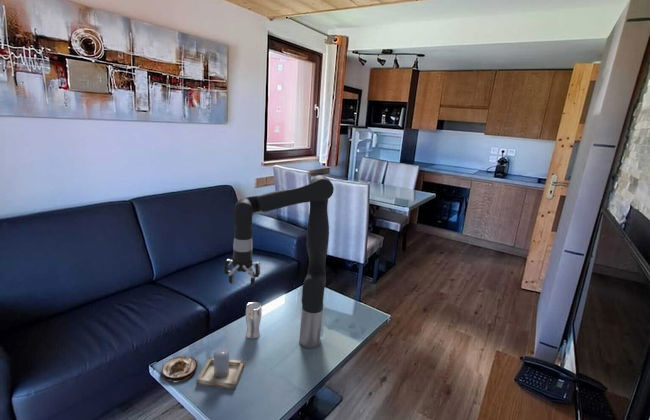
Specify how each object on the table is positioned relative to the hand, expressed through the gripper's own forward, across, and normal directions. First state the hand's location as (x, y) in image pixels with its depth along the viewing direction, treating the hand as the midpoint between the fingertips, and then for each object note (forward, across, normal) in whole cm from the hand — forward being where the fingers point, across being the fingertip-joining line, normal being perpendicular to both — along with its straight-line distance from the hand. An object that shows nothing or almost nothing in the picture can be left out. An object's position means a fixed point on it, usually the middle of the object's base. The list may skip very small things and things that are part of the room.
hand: (241, 284), depth 139 cm
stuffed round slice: (+29, +17, +20) cm, 39 cm away
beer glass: (+28, -4, -6) cm, 29 cm away
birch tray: (+28, +1, +20) cm, 35 cm away
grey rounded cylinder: (+27, +1, +20) cm, 34 cm away
